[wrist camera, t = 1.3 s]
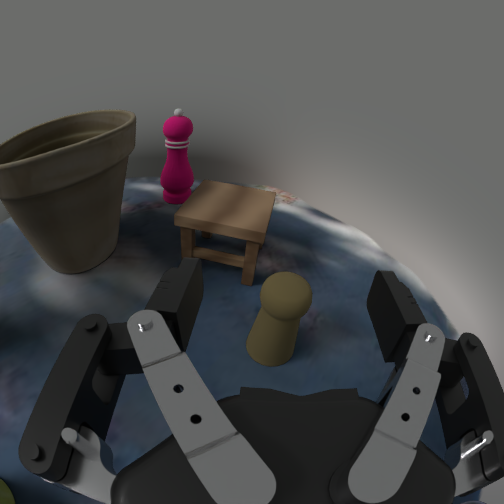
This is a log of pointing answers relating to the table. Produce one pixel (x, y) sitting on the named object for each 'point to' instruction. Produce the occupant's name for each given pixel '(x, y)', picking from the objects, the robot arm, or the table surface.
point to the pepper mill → (177, 159)
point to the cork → (278, 318)
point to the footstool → (226, 222)
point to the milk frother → (473, 502)
